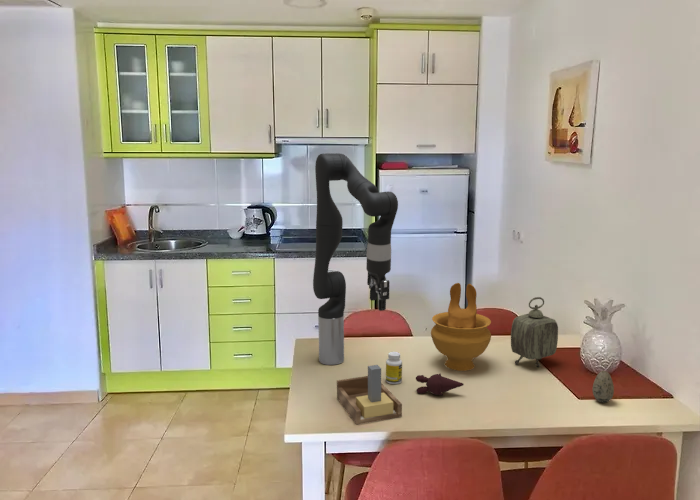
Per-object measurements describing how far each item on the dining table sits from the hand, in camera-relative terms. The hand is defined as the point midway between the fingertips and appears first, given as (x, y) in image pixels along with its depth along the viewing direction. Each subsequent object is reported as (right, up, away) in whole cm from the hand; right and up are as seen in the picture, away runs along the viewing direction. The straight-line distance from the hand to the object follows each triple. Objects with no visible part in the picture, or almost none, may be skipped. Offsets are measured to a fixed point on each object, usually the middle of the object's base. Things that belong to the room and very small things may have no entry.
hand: (377, 304), depth 180 cm
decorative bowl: (+31, -24, +24) cm, 46 cm away
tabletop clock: (+57, -24, +24) cm, 67 cm away
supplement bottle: (+6, -27, +11) cm, 30 cm away
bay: (-3, -30, -8) cm, 31 cm away
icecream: (+20, -29, +1) cm, 35 cm away
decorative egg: (+69, -29, -5) cm, 75 cm away
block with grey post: (-2, -30, -13) cm, 33 cm away
